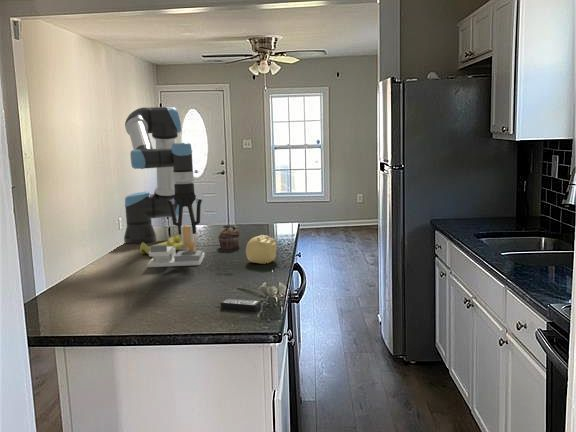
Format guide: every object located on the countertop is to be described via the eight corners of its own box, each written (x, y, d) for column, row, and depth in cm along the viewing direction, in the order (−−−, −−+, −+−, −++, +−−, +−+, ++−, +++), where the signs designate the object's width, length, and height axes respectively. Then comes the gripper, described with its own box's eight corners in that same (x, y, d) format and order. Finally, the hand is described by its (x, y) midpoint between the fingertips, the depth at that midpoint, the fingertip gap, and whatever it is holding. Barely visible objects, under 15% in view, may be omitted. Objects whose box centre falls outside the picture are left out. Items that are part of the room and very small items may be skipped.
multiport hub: (227, 305, 163) (226, 298, 163) (261, 308, 160) (261, 300, 159) (220, 310, 159) (219, 302, 159) (255, 313, 156) (254, 305, 155)
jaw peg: (184, 245, 221) (182, 225, 220) (193, 245, 221) (192, 225, 220) (182, 247, 218) (181, 227, 217) (192, 246, 218) (190, 226, 217)
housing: (156, 258, 230) (154, 235, 229) (204, 255, 231) (203, 233, 229) (147, 267, 215) (145, 242, 213) (199, 264, 215) (198, 240, 214)
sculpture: (273, 266, 209) (272, 237, 207) (243, 265, 211) (241, 237, 210) (280, 259, 220) (279, 232, 218) (251, 258, 222) (249, 232, 221)
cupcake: (242, 245, 251) (240, 223, 250) (238, 249, 242) (236, 226, 240) (221, 245, 252) (219, 223, 251) (216, 249, 243) (215, 227, 241)
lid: (154, 251, 222) (153, 241, 221) (173, 250, 222) (172, 240, 221) (149, 256, 212) (148, 246, 211) (168, 255, 212) (167, 245, 212)
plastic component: (153, 252, 230) (140, 240, 236) (151, 267, 234) (138, 254, 239) (192, 241, 244) (179, 229, 249) (189, 255, 247) (176, 243, 253)
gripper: (161, 184, 212) (165, 245, 216) (203, 182, 213) (207, 243, 216) (165, 182, 220) (169, 241, 223) (205, 181, 220) (209, 239, 223)
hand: (187, 242), depth 220 cm, fingers closed on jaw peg, 3 cm apart
